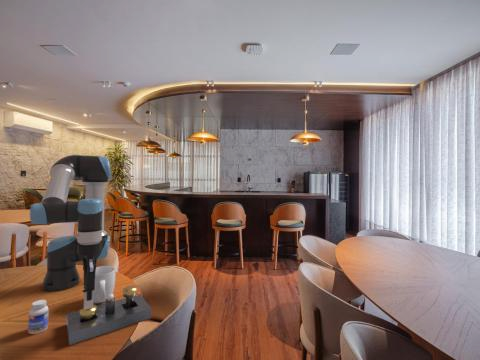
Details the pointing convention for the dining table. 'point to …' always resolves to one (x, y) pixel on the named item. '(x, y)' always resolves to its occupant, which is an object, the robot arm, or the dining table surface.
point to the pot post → (110, 303)
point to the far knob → (130, 294)
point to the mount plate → (107, 320)
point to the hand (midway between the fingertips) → (88, 307)
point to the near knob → (88, 313)
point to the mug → (103, 283)
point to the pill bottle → (38, 317)
